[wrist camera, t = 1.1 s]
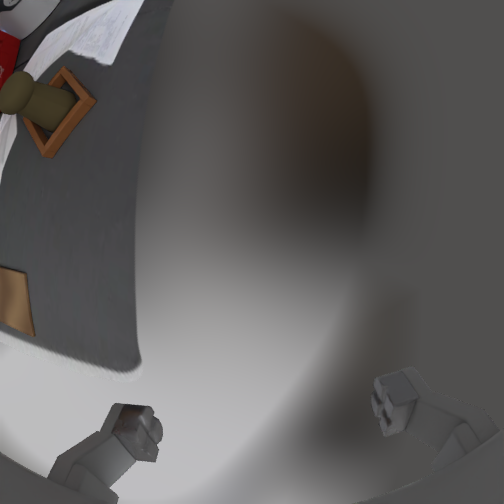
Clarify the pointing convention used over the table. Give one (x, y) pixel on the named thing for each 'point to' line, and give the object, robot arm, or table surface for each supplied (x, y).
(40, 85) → the pepper shaker
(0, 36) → the fire alarm
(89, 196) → the table surface
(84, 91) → the frame
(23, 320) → the wooden cutting board
